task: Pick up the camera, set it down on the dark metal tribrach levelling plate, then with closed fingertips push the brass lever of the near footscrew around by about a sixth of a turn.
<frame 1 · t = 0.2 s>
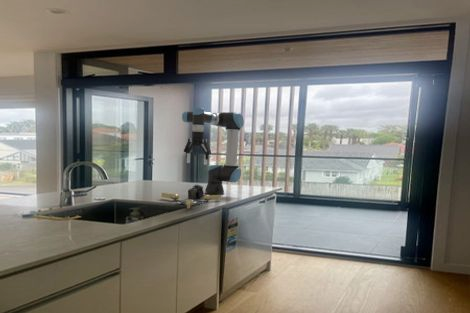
hand: (196, 163, 237), 27 cm above the worktop, fingers open, 13 cm apart
tribrach: (190, 203, 244), on the worktop
camera: (196, 198, 263), on the worktop
knob lever: (170, 196, 252), point 2 cm above the worktop, hinge at 0.0°
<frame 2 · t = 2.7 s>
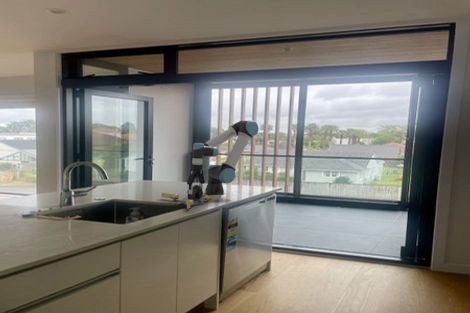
hand: (195, 193, 263), 4 cm above the worktop, fingers open, 13 cm apart
camera: (195, 198, 263), on the worktop, touching gripper
everything else where it was.
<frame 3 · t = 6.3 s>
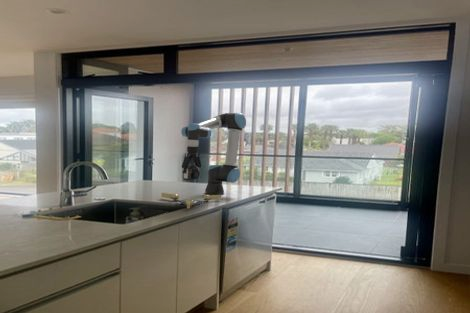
hand: (191, 177, 244), 17 cm above the worktop, fingers closed on camera, 13 cm apart
camera: (191, 179, 244), point 16 cm above the worktop, touching gripper
everything else where it was.
when the fingers open (4 cm above the worktop, at t = 9.6 s): camera stays where it is, point 1 cm above the worktop.
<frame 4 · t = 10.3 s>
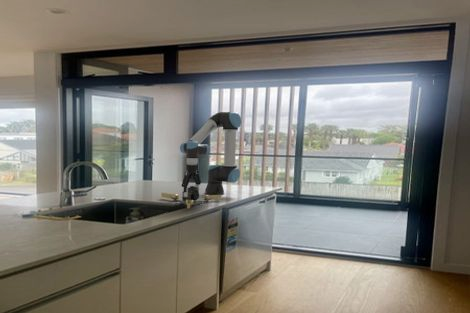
hand: (191, 195, 244), 5 cm above the worktop, fingers open, 13 cm apart
camera: (190, 201, 244), point 1 cm above the worktop, touching gripper
everything else where it was.
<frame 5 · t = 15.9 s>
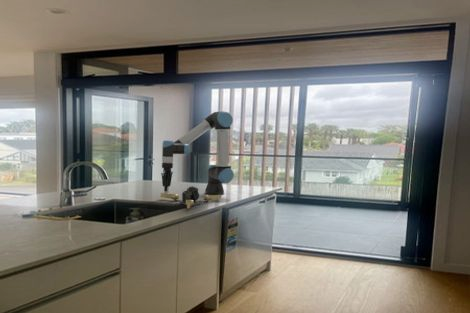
hand: (166, 195, 254), 3 cm above the worktop, fingers closed
camera: (190, 201, 245), point 1 cm above the worktop, touching tribrach
knob lever: (169, 196, 251), point 2 cm above the worktop, hinge at 6.6°, touching gripper
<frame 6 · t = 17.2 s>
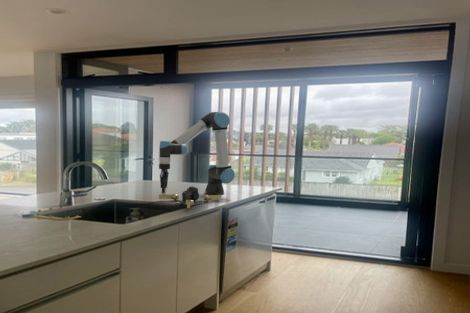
hand: (163, 197, 250), 2 cm above the worktop, fingers closed
knob lever: (168, 197, 249), point 2 cm above the worktop, hinge at 40.9°, touching gripper
everything else where it was.
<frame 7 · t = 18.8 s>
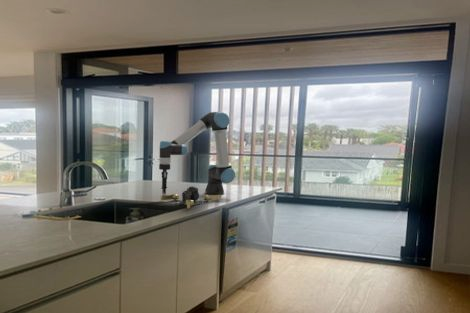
hand: (163, 197, 248), 2 cm above the worktop, fingers closed
knob lever: (169, 197, 247), point 2 cm above the worktop, hinge at 70.7°
everything else where it was.
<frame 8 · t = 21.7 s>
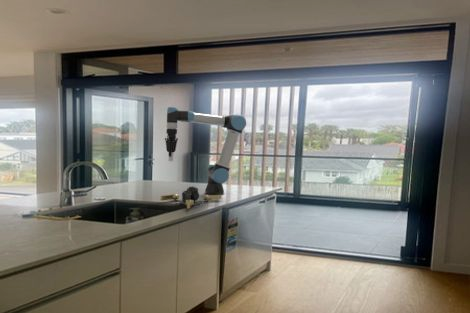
hand: (170, 161, 262), 26 cm above the worktop, fingers closed
nothing on the worktop moved.
at the end: camera 0.7 cm from the tribrach (horizontally); camera touching tribrach; knob lever at +71° (first picture: +0°) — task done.
